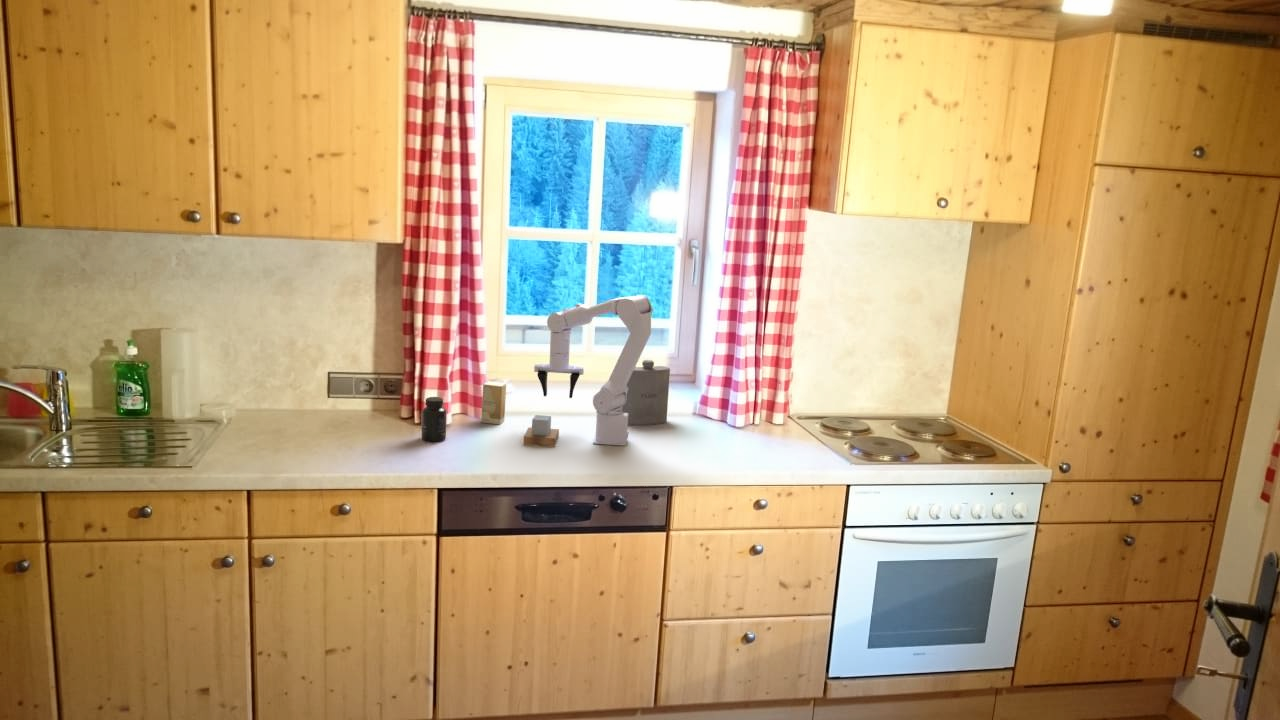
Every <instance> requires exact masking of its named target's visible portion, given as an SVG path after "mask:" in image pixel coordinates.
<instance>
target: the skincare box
mask: <svg viewBox="0 0 1280 720" xmlns="http://www.w3.org/2000/svg"><path fill="white" fill-rule="evenodd" d="M487 381H488V380H487ZM487 381H485V382H486V383H485V382H484V383H483V384H482V397H481V398H482V399H481V400H482V401H481V402H482V403H481V420H480V421H481V423H484V424H485V423H486V424H492V425H493V424H494V425H501V424H503V423H504V422H505V419H506V417H505V415H506V414H505V413H506V398H507V397H506V396H507V383H506V382H498V381H490V380H489V381H488V383H487Z"/></svg>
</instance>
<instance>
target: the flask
mask: <svg viewBox="0 0 1280 720" xmlns="http://www.w3.org/2000/svg"><path fill="white" fill-rule="evenodd" d="M654 365H655V362H654V361H653V359H652V360H651V359H644V360H643V361H642V366H635V368H634V370H633V372H632V375H631V377H630V379H629V381H628V383H627V387H628V391H627V399H626V403H625V404H624V405H623V406H622V412H624V413H628V424H629V425H628V426H649V425H648V424H653V425H661V424H660V423H662V424H665V423H667V420H668V419H667V418H668V407H669V392H670V391H669V390H670V376H671V375H670V373H671V372H670V371H671V368H669V367H668V366H665V365H664V366H663V365H655V366H654Z"/></svg>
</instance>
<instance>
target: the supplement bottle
mask: <svg viewBox="0 0 1280 720" xmlns="http://www.w3.org/2000/svg"><path fill="white" fill-rule="evenodd" d="M443 406H444V399H443V398H442V397H441V396H430V397H426V398H425V407H424V408H423V409H422V410H421V440H422V441H423V442H426V443H430V442H431V443H432V444H435V443H436V442H437V443H442V442H444V441H445V440H446V438H447V410H446V408H445V407H443ZM434 442H435V443H434Z"/></svg>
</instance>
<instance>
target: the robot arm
mask: <svg viewBox="0 0 1280 720" xmlns="http://www.w3.org/2000/svg"><path fill="white" fill-rule="evenodd" d="M653 311H654V308H653V305H652V303H651V302H650V299H649V298H648V297H647V296H646V295H643V294H638V295H635V296H633V295H631V296H623V297H618V298H613V299H609V300H606V301H604V302H601V303H598V304H596V305H592V306H589V305H587V304H584V303H583V304H582V303H577V304H575V306H574V307H572V308H567V307H566V308H563V309H562V311H559V312H555V311H554V312H552V313H551V314H550V315H548V318H547V320H546V324H547V327H548V330H550V341H549V342H550V343H549V344H550V345H549V364H548V363H547V364H543V363H541V364H534V367H533V368H534V370H533V372H535V373H537V378H538V381H539V383H540V385H541V388H542V392H543V394H542V395H543V397H547V396H548V375H549V374H548V373H552V374H554V373H556V374H570V376H569V377H570V378H569V379H570V380H569V384H570V385H569V387H570V388H569V394H568V395H569V397H568V398H569V399H572V397H573V394H574V389H575V387H576V385H577V383H578V380H579V378H580V376H582V375H584V372H585V371H584V370H585V369H584V368H585V367H583V366H575V365H570V345H571V344H570V342H571V340H570V339H571V335H572V334H571V333H572V329H575V328H578V327H582V326H586V325H589V324H591V322H592V320H593V318H596V317H601V316H604V315H606V314H611V313H612V315H614V316H618V317H619V318H620V321H622V323H623V324H624V326H625V327H626V328H627V329H628V331H629V336H628V337H627V339H626V342H625V343H624V344H625V345H624V346H623V349H622V351H621V353H620V354H619V356H618V359H617V361H616V364H615V365H614V368H613V369H612V372H611V373H610V377H609V378H608V379H607V380H606V382H605V383H604V384H603V385H602V386H601V388H600V390H599V391H598V392H596V394H594V396H593V397H592V405H593V407H594V410H595V411H596V422H595V423H596V424H595V426H596V427H595V434H594V439H593V441H592V444H595V445H609V446H611V445H612V446H627V442H628V441H627V440H628V439H629V431H628V430H629V429H628V427H629V425H628V413H624V412H622V406H623V405H624V404H625V403H626V399H627V391H628V387H627V383H628V381H629V379H630V377H631V375H632V372H633V370H634V368H635V367H637V365H638V364H637V363H638V362H639V360H640V357H641V356H642V354H643V351H644V349H645V347H646V345H647V343H648V341H649V339H650V336H651V334H652V313H653Z"/></svg>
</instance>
